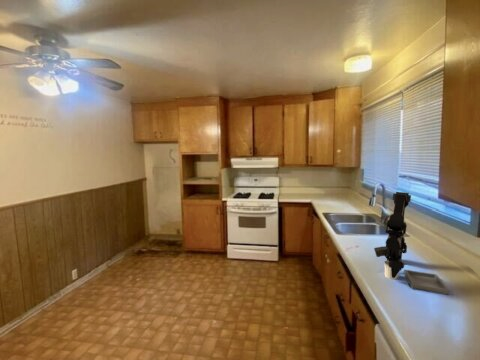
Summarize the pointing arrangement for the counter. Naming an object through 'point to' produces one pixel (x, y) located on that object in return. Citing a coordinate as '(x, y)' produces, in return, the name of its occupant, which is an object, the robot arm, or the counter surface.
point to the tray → (425, 282)
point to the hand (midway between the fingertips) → (391, 273)
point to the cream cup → (388, 271)
